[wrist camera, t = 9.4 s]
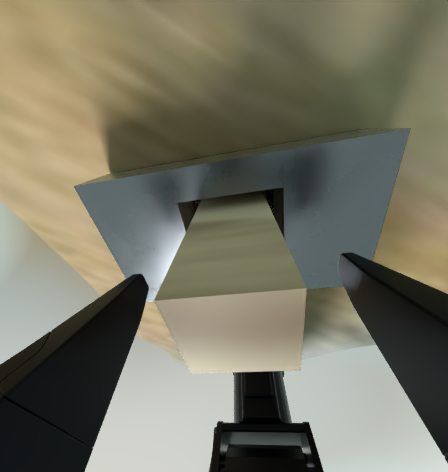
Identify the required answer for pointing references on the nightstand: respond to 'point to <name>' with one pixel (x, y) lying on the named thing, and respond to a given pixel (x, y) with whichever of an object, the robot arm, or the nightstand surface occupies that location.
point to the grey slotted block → (249, 180)
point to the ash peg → (234, 290)
